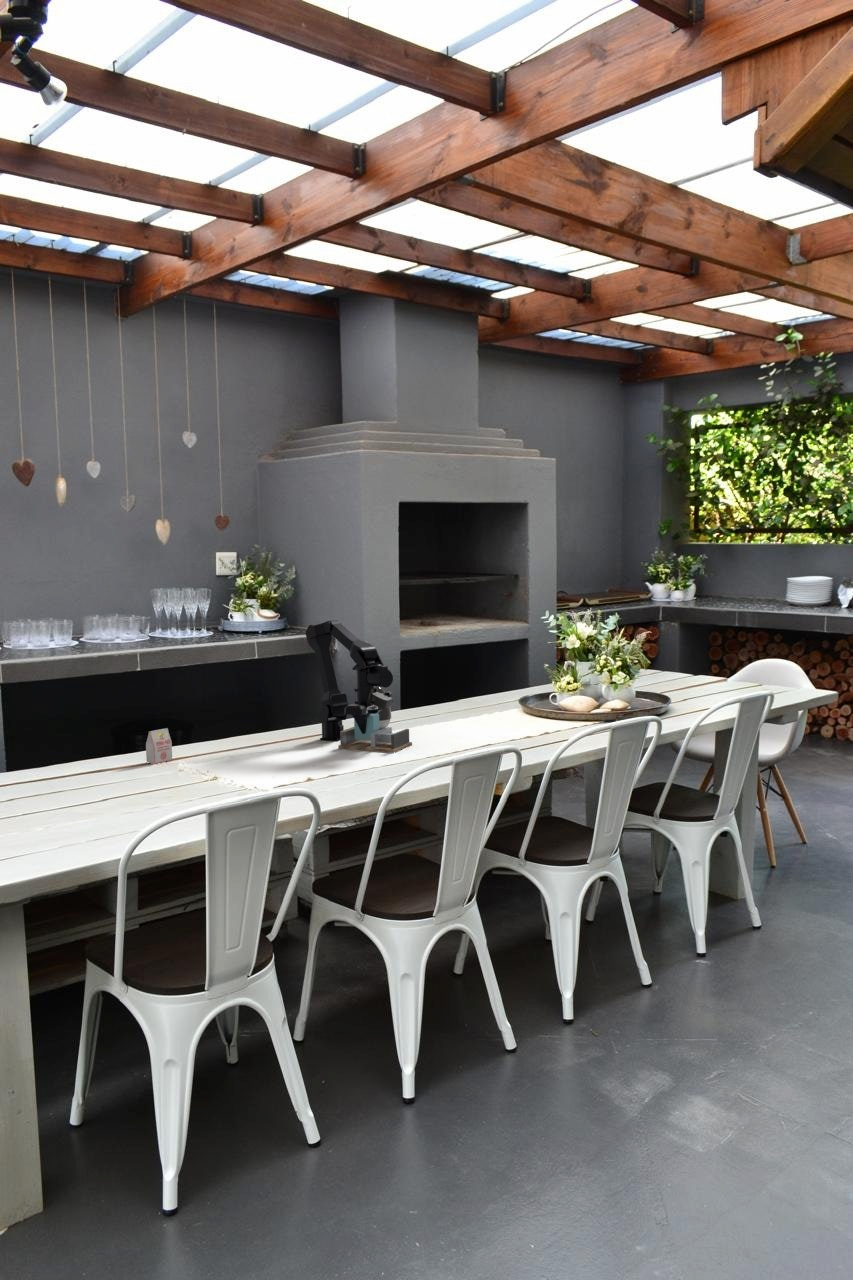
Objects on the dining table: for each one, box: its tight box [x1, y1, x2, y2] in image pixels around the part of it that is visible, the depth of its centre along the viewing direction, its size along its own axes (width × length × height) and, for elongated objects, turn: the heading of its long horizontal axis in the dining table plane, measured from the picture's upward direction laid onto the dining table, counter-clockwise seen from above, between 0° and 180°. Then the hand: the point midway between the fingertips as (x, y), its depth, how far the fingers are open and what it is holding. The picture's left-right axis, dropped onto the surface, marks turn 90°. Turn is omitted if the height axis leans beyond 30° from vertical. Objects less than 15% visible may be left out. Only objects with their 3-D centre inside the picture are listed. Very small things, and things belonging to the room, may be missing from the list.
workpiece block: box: [353, 713, 380, 740], centre depth 328 cm, size 7×4×8 cm, turn 65°
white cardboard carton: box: [145, 727, 173, 765], centre depth 309 cm, size 4×7×10 cm, turn 142°
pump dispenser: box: [375, 686, 392, 730], centre depth 360 cm, size 10×10×15 cm
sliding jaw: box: [371, 726, 410, 749], centre depth 324 cm, size 8×12×4 cm, turn 155°
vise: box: [338, 726, 413, 753], centre depth 327 cm, size 20×13×6 cm, turn 65°
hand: (366, 732), depth 328 cm, fingers closed on workpiece block, 4 cm apart
